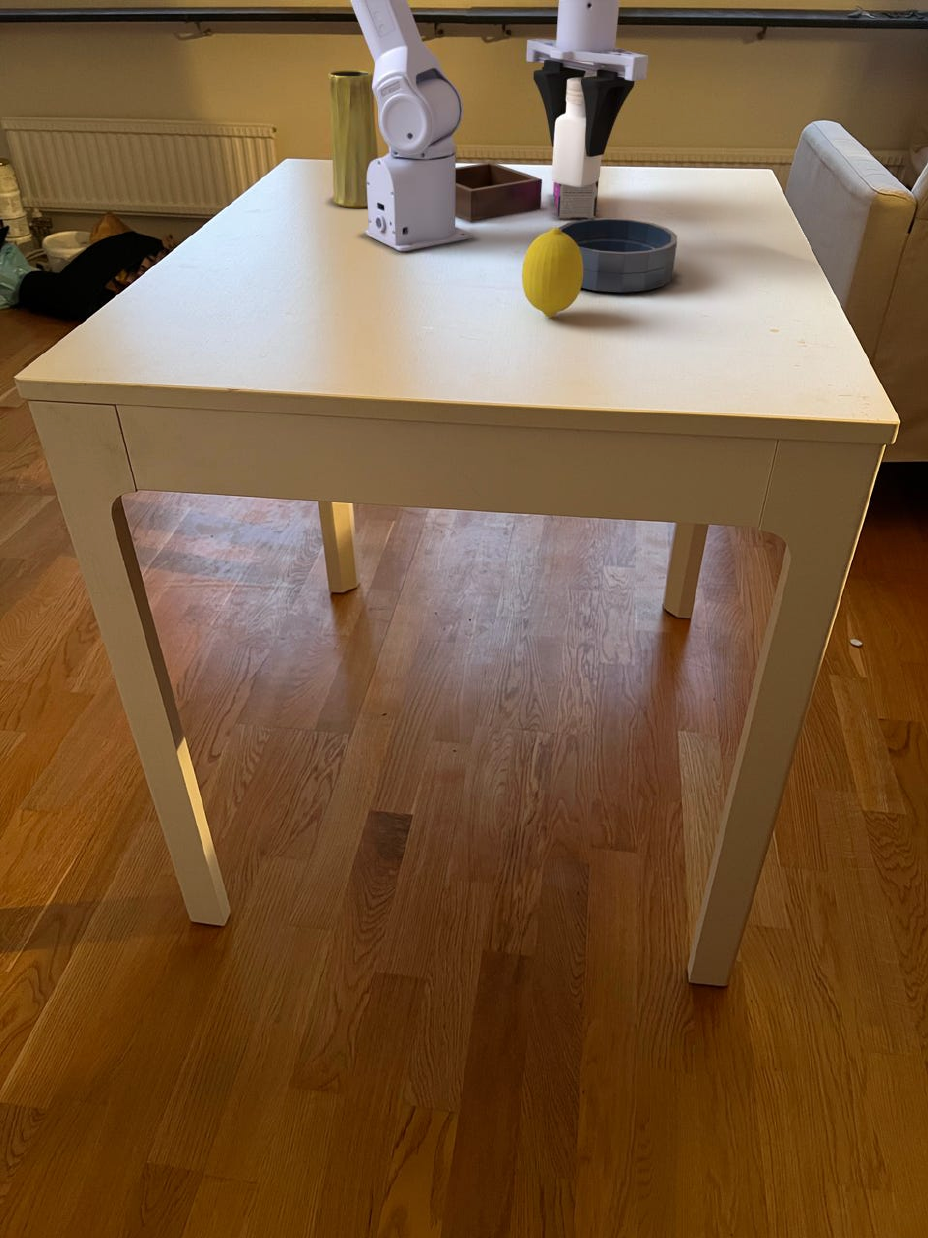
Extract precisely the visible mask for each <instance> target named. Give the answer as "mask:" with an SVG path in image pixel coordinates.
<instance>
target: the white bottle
mask: <svg viewBox="0 0 928 1238" xmlns="http://www.w3.org/2000/svg"><path fill="white" fill-rule="evenodd" d="M566 93H567V94H566V102H567V103H566V113H565V114H563V115H561V116H559V117H558V118H557V119H556V122H555V133H554V148H553V147H552V149H553V150H552V164H551V166H552V167H551V180H552V182H553V183H554V182H555V183H558V184H563V185H568V186H573V187H578V188H580V187H584V186H586V185H589V184H592V183H594V182H597V181H598V180H600V177H601V169H602V157H603V155H599V156H594V157H589V156H587V155H586V147H585V129H586V113H585V102H584V96H583V91H582V86H581V78H570V79H568V80H567V90H566Z"/></svg>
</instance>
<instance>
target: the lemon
mask: <svg viewBox="0 0 928 1238" xmlns="http://www.w3.org/2000/svg"><path fill="white" fill-rule="evenodd" d="M558 228H559V227H553V228H550V230H549V231H547V232H545V233H541V234H540V235H539V236H538V237H536V238H535V239H534V240H533V241H532V242H531V243H530V244H529V247H528V248H527V250H526V253H525V256H524V259H523V262H522V270H521V282H522V287H523V288H522V289H523V292H524V296H525V298H526V299H527V300H528V303H530V305H531V306H532V307H533V308H535V309H536V310H538V311H541V312H542V313H543V315H544V316H545V317H546V318H549V319H551V318H554V317H555V316H556V315H557V314H558V313H559V312H562V311H565V310H567V309H568V308H569V307H571V306H572V304H574V302H575V301H576V300H577V298H578V296H579V295H580V293H581V289H582V288H581V286H582V280H583V261H582V256H581V252H580V249H579V247H578V245H577V244H576V242H575V241H574V240H573V239H572V238H571V237H570V236H568V235H566V234H564V233H562V232H561V231H560V230H559V229H558Z"/></svg>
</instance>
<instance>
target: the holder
mask: <svg viewBox="0 0 928 1238" xmlns="http://www.w3.org/2000/svg"><path fill="white" fill-rule="evenodd" d="M542 190H543V179H542V178H540V177H537V176H534V175H531V174H528V173H525V172H522V171H519V170H516V169H512V168H510V167H507V166H504V165H501V164H498V163H495V162H493V161H490V162H483V163H478V164H470V165H464V166H457V167H456V176H455V217H457V218H459V219H461V220H464V221H466V222H469V223H475V222H476V223H477V222H480V221H485V220H492V219H496V218H501V217H506V216H507V217H508V216H512V215H516V214H523V213H527V212H532V211H538V210H541V207H542Z"/></svg>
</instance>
